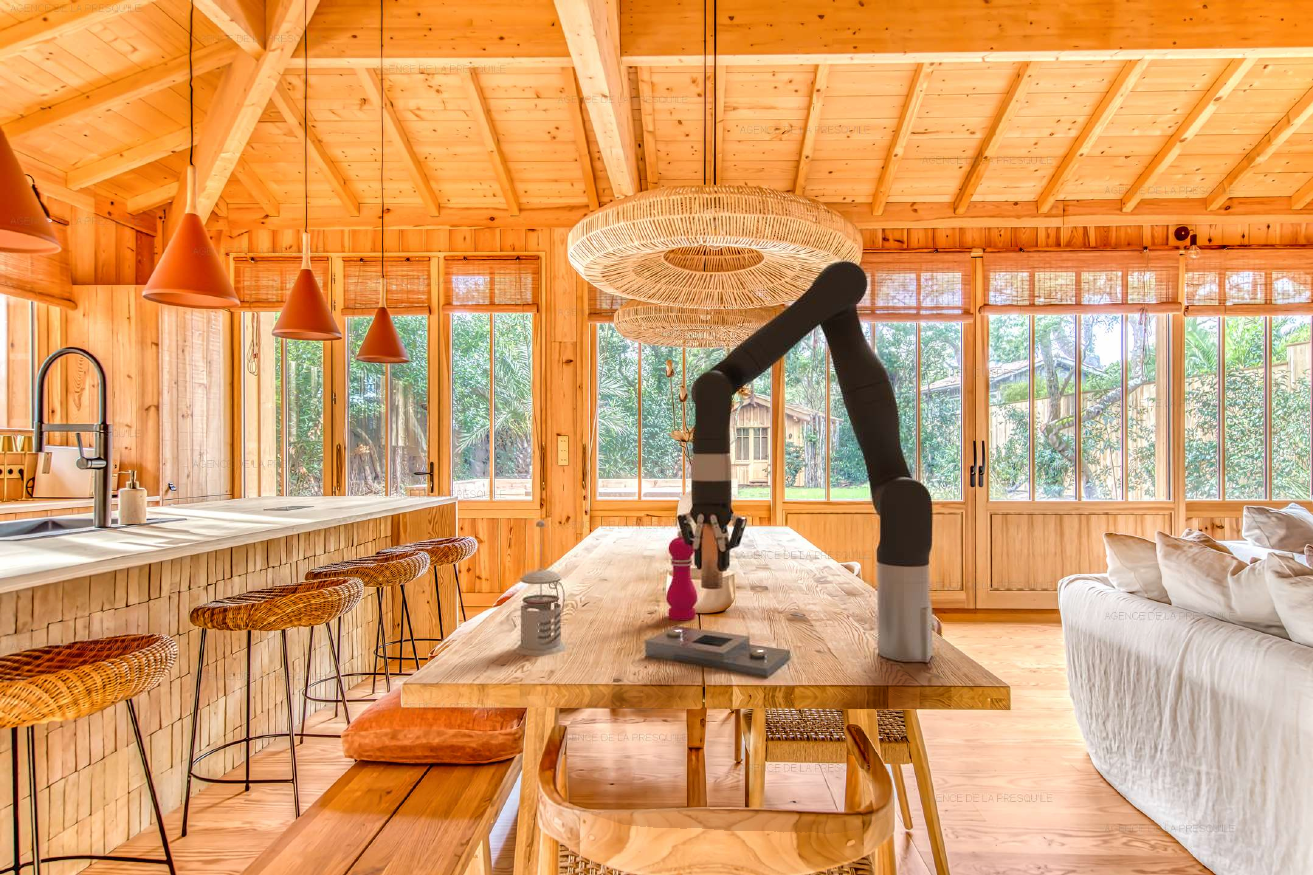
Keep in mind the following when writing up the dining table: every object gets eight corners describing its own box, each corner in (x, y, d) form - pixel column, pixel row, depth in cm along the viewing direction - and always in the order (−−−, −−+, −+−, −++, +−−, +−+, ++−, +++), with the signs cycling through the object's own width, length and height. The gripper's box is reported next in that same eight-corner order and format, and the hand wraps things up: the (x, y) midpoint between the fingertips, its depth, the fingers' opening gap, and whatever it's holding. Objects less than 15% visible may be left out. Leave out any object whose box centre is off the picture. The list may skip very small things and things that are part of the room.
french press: (504, 651, 128) (504, 521, 128) (542, 636, 138) (541, 516, 139) (545, 658, 123) (545, 524, 124) (581, 642, 133) (580, 518, 134)
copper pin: (726, 586, 124) (725, 522, 125) (717, 589, 121) (716, 524, 121) (706, 584, 126) (706, 521, 127) (697, 587, 123) (697, 523, 123)
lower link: (790, 658, 122) (790, 644, 122) (767, 677, 112) (767, 662, 112) (702, 644, 131) (702, 632, 131) (673, 661, 121) (673, 647, 121)
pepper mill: (700, 614, 156) (699, 529, 157) (693, 621, 149) (693, 532, 150) (670, 612, 158) (670, 528, 159) (662, 619, 151) (662, 532, 152)
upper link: (749, 652, 126) (749, 631, 126) (723, 670, 116) (723, 647, 116) (675, 640, 134) (675, 620, 134) (645, 656, 124) (645, 635, 124)
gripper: (754, 478, 124) (754, 570, 124) (686, 476, 131) (687, 563, 131) (738, 479, 117) (739, 576, 117) (668, 478, 124) (668, 569, 124)
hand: (711, 569), depth 124 cm, fingers closed on copper pin, 4 cm apart
